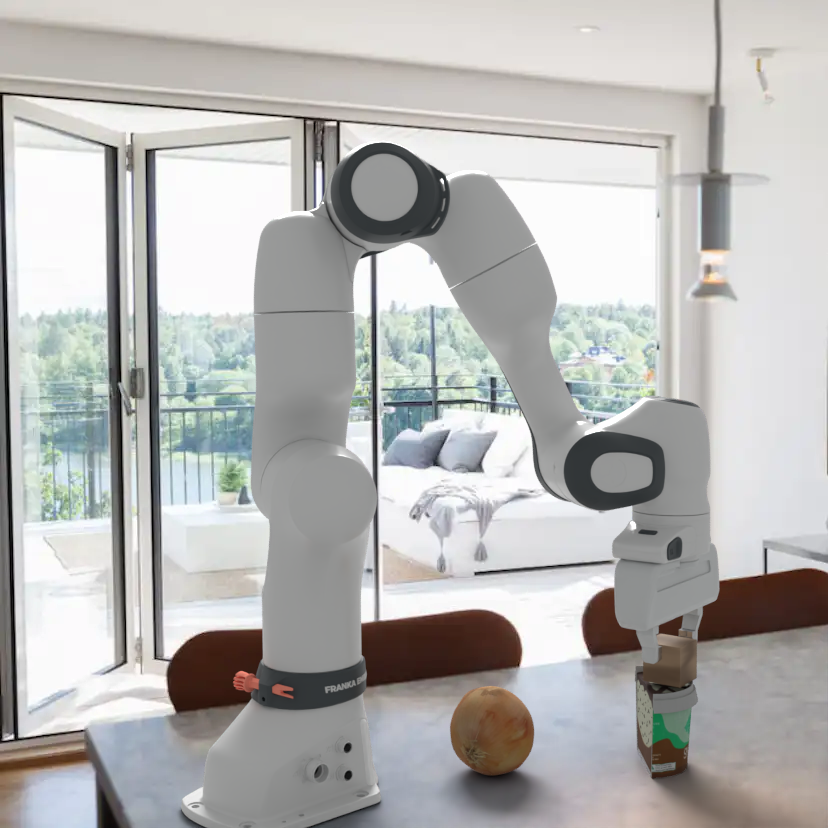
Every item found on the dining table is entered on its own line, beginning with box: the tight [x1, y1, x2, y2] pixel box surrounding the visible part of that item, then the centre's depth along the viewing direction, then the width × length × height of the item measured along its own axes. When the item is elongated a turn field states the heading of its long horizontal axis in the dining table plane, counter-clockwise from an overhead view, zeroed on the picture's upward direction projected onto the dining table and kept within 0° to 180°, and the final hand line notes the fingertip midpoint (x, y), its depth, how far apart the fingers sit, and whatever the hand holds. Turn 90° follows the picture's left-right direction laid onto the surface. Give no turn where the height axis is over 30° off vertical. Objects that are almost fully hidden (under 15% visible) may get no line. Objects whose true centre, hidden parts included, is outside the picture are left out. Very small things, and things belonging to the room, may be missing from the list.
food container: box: [634, 665, 699, 779], centre depth 129 cm, size 12×6×10 cm, turn 179°
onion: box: [449, 685, 535, 776], centre depth 126 cm, size 10×10×10 cm
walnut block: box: [642, 633, 698, 688], centre depth 128 cm, size 5×5×5 cm
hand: (670, 652), depth 128 cm, fingers open, 8 cm apart
